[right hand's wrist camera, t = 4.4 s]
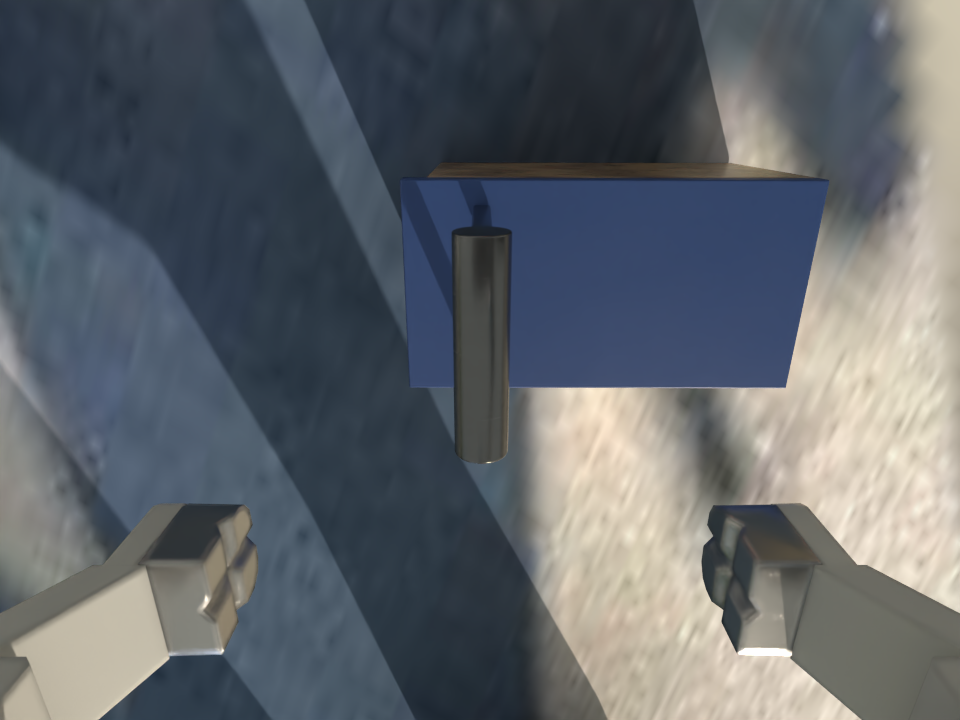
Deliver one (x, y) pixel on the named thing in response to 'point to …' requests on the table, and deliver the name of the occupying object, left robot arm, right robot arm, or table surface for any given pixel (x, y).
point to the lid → (600, 286)
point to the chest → (606, 170)
